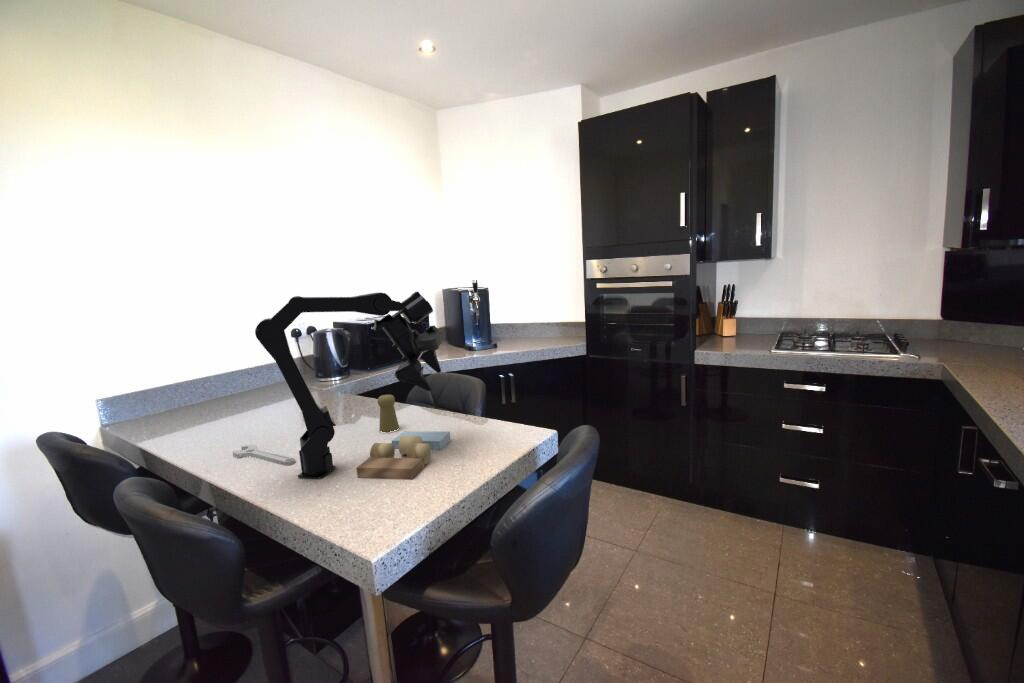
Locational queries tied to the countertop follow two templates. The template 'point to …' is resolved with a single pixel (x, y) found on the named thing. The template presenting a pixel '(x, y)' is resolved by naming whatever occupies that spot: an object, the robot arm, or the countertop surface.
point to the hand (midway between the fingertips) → (435, 380)
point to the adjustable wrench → (263, 455)
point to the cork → (387, 413)
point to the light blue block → (421, 439)
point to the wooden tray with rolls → (394, 462)
